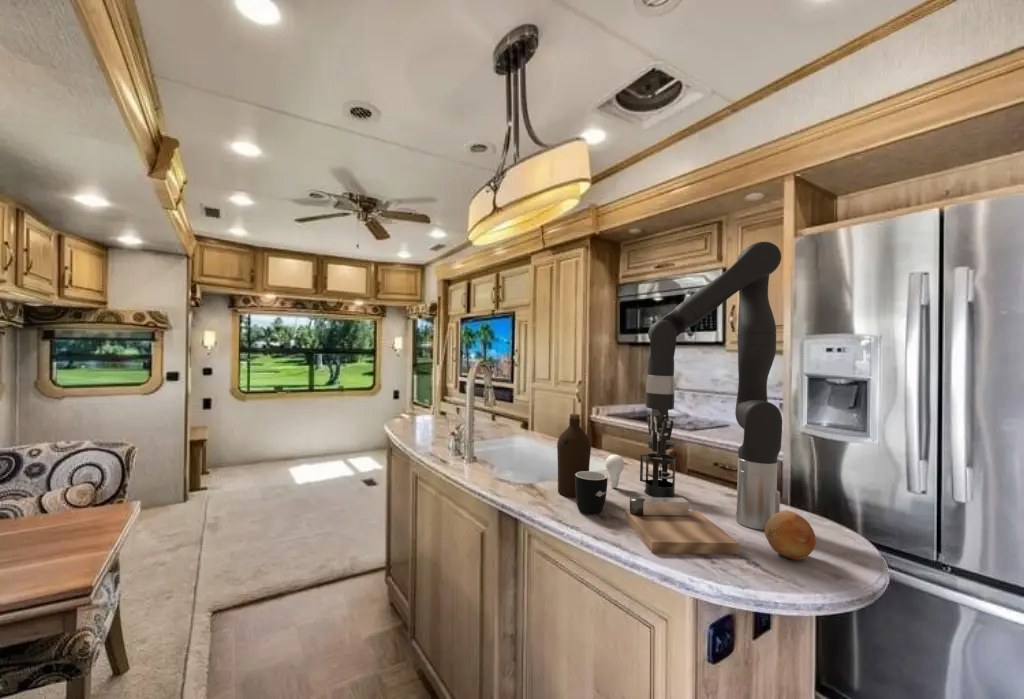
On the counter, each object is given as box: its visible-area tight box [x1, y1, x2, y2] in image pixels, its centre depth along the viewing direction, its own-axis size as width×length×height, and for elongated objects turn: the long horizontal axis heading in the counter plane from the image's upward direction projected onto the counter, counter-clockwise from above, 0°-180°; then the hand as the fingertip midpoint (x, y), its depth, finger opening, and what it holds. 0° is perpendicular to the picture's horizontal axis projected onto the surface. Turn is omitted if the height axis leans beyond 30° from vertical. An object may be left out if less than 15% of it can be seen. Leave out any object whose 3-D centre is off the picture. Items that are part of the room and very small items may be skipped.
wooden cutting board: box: [624, 509, 740, 555], centre depth 109 cm, size 20×20×2 cm
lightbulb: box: [605, 454, 625, 489], centre depth 147 cm, size 6×6×11 cm
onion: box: [764, 509, 817, 561], centre depth 99 cm, size 10×10×10 cm
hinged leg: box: [629, 496, 690, 516], centre depth 117 cm, size 15×4×4 cm, turn 93°
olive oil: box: [556, 413, 592, 498], centre depth 140 cm, size 11×11×25 cm
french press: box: [639, 438, 677, 498], centre depth 143 cm, size 12×9×23 cm
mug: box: [575, 470, 608, 516], centre depth 125 cm, size 12×9×10 cm
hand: (658, 452), depth 124 cm, fingers open, 3 cm apart
